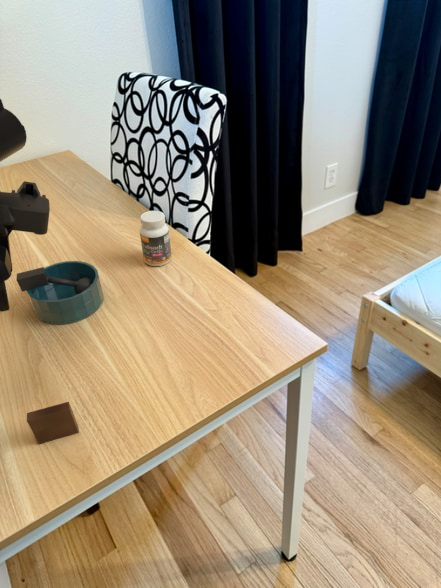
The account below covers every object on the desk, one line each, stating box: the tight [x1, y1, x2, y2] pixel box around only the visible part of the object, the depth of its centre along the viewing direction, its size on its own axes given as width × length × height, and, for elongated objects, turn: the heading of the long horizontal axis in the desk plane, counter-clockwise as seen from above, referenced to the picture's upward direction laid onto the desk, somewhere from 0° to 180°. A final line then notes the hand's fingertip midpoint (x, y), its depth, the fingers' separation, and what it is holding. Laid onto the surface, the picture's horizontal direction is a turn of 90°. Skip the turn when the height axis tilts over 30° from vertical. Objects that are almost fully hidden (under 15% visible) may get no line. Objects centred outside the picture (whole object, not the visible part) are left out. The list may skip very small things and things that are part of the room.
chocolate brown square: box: [26, 401, 80, 445], centre depth 54 cm, size 5×1×5 cm, turn 109°
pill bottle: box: [139, 210, 172, 267], centre depth 85 cm, size 6×6×10 cm
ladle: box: [15, 266, 93, 294], centre depth 75 cm, size 12×4×8 cm, turn 109°
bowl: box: [26, 260, 104, 325], centre depth 76 cm, size 12×12×5 cm
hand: (7, 290), depth 59 cm, fingers open, 9 cm apart
